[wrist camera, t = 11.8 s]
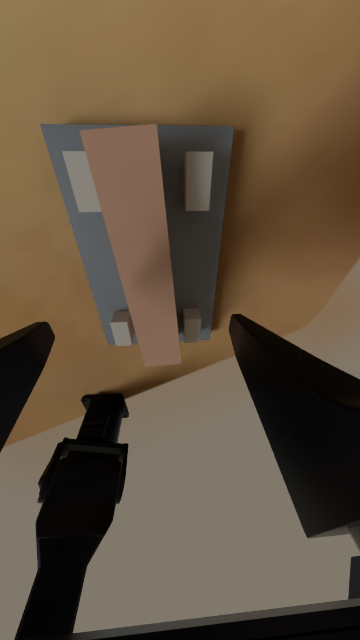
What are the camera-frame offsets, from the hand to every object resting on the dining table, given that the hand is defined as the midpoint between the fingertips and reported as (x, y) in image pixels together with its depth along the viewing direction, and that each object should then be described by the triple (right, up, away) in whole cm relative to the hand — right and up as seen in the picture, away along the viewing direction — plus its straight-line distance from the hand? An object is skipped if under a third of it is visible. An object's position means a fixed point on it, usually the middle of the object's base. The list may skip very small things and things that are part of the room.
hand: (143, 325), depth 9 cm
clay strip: (-1, +5, +7) cm, 9 cm away
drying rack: (-1, +6, +9) cm, 10 cm away
